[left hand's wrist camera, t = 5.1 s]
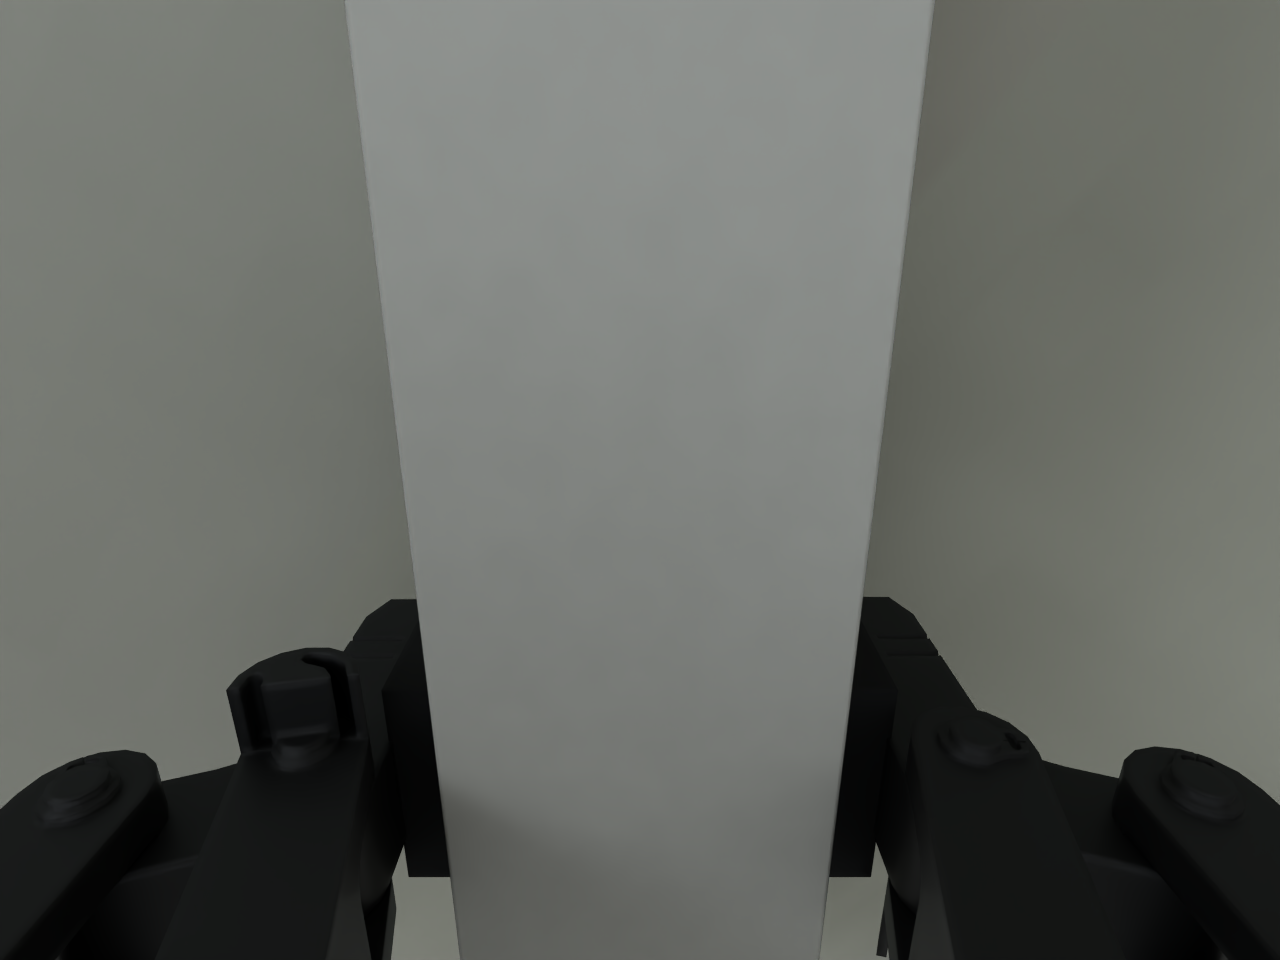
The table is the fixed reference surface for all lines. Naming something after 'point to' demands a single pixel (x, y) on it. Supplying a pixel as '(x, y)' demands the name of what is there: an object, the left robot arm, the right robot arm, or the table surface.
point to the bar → (639, 440)
